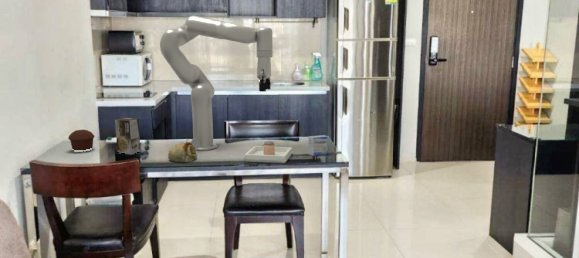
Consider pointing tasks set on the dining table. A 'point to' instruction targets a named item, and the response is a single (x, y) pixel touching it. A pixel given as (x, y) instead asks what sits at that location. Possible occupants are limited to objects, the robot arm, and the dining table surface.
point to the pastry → (183, 153)
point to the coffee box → (127, 135)
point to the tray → (258, 155)
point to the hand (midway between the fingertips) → (264, 90)
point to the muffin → (81, 139)
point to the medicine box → (318, 145)
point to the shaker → (269, 148)
